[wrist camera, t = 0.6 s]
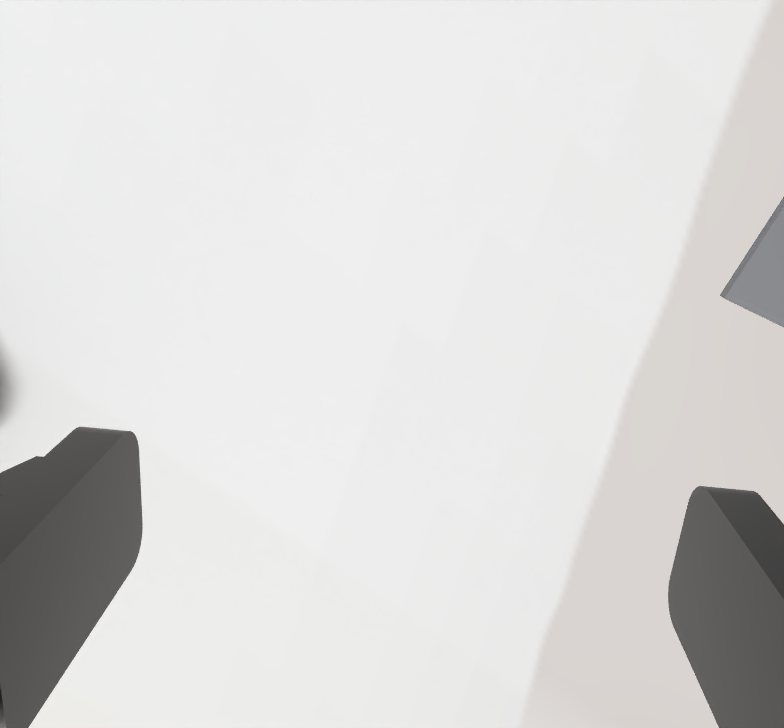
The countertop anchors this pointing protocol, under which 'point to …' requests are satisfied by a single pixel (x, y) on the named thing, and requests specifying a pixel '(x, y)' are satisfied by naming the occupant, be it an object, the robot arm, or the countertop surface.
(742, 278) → the mat
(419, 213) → the countertop surface
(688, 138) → the countertop surface
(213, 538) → the countertop surface
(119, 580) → the robot arm
